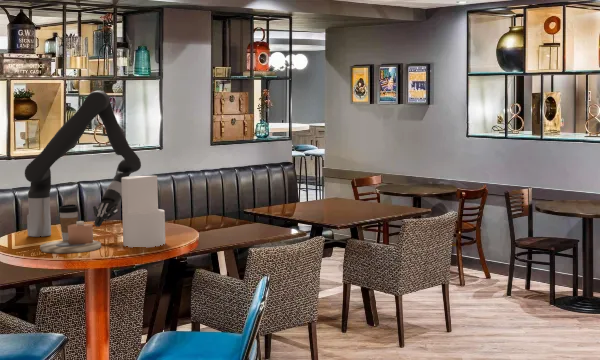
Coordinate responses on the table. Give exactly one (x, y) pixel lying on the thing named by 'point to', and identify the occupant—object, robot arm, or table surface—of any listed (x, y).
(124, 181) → the grey piece
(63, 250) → the serving board
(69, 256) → the table surface
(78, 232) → the knobbed pink canister
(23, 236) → the table surface
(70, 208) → the coffee cup
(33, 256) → the table surface
